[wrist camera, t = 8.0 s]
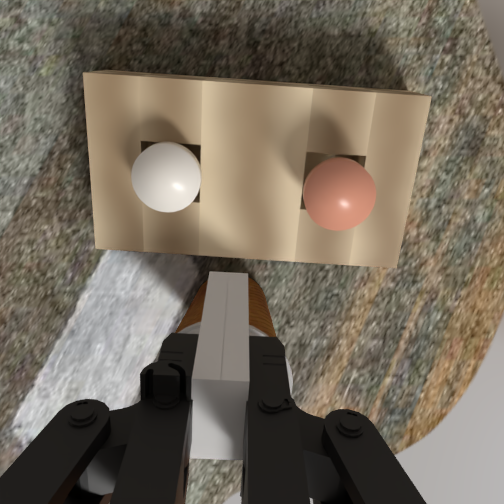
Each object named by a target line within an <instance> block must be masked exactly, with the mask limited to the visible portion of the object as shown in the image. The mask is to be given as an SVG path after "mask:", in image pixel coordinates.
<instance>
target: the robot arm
mask: <svg viewBox="0 0 504 504" xmlns="http://www.w3.org/2000/svg"><path fill="white" fill-rule="evenodd" d="M286 365H287V364H286V358H285V349H284V345H283V344H282V343H281V342H280V340H279V339H278V338H277V337H267V336H249V306H248V273H230V272H212V271H210V272H209V278H208V284H207V290H206V296H205V302H204V308H203V314H202V320H201V326H200V332H199V334H187V333H171V334H170V335H169V336H168V337H167V338H166V339H165V340H164V341H163V343H162V346H161V350H160V353H159V357H158V361H157V362H154V363H151V364H149V365H148V366H146V367H145V368H144V369H143V370H142V372H141V373H140V386H141V401H139V402H138V403H136V404H134V405H132V406H130V407H126V408H123V409H117V410H112V411H109V408H108V407H107V405H106V404H105V403H103V402H101V401H98V400H93V399H84V400H78V401H75V402H73V403H70V404H68V405H66V406H65V407H64V408H63V409H61V410H60V411H59V412H58V413H57V414H56V415H55V417H54V418H53V419H52V420H51V421H50V422H49V423H48V424H47V425H46V427H45V428H44V429H43V430H42V431H41V432H40V433H39V434H38V436H37V437H36V438H35V439H34V440H33V441H32V442H31V443H30V445H29V446H28V447H27V448H26V449H25V450H24V451H23V452H22V454H21V455H20V456H19V457H18V458H17V459H16V460H15V461H14V463H13V464H12V465H11V466H10V467H9V468H8V469H7V470H6V472H5V473H4V474H3V475H2V476H1V477H0V504H109V502H110V504H185V500H186V492H187V485H188V477H189V458H199V459H224V460H243V467H242V480H241V492H240V496H241V497H242V502H241V504H310V498H312V499H313V504H426V502H425V501H424V499H423V498H422V496H421V495H420V493H419V492H418V490H417V489H416V487H415V486H414V484H413V483H412V481H411V480H410V478H409V477H408V475H407V474H406V472H405V471H404V469H403V468H402V467H401V465H400V463H399V462H398V460H397V459H396V457H395V456H394V454H393V453H392V451H391V450H390V448H389V447H388V445H387V444H386V442H385V441H384V439H383V438H382V436H381V435H380V433H379V432H378V430H377V429H376V427H375V426H374V424H373V423H372V422H371V421H370V420H369V419H368V418H367V417H366V416H364V415H362V414H361V413H359V412H356V411H352V410H349V409H338V410H335V411H332V412H330V413H329V414H328V415H327V416H326V418H325V419H323V418H320V417H316V416H313V415H310V414H308V413H306V412H304V411H302V410H301V409H300V408H298V407H297V406H296V404H295V402H294V399H292V398H291V393H290V386H289V378H288V371H287V366H286ZM309 497H310V498H309Z"/></svg>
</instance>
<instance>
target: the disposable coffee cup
mask: <svg viewBox="0 0 504 504" xmlns="http://www.w3.org/2000/svg"><path fill="white" fill-rule="evenodd" d="M207 284H208V280H207V281H205V282H204V283H203V284H202V285H201V287H200V288H199V290H198V292H197V294H196V296H195V297H194V299H193V301H192V303H191V305H190V307H189V308H188V310H187V312H186V314H185V316H184V317H183V319H182V321H181V323H180V325H179V326H178V328H177V330H176V332H175V333H187V334H199V332H200V326H201V320H202V314H203V308H204V302H205V296H206V290H207ZM248 306H249V336H267V337H276V333H275V330H274V327H273V323H272V319H271V316H270V313H269V309H268V306H267V302H266V298H265V295H264V292H263V290H262V289H261V287H260V286H259V285H258V284H257V283H256V282H255V281H254V280H252V279H251V278H249V277H248ZM160 350H161V349H160ZM159 353H160V351H159ZM159 353H158V355H157V357H156V359H155V361H154V362H157V361H158V357H159ZM285 358H286V356H285ZM286 364H287V365H286V366H287V371H288V378H289V386H290V393H291V392H292V385H293V379H292V371H291V368H290V365H289V362H288V360H287V358H286Z"/></svg>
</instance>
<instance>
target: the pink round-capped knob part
mask: <svg viewBox="0 0 504 504" xmlns="http://www.w3.org/2000/svg"><path fill="white" fill-rule="evenodd" d="M303 200H304V204H305V207H306V210H307V212H308V214H309V216H310V217H311V219H312V220H313V221H314V222H315V223H317V224H318V225H319V226H321V227H323V228H326V229H329V230H334V231H341V230H347V229H350V228H353V227H355V226H357V225H359V224H360V223H362V222H363V221H364V220H365V219H366V218H367V217H368V216H369V214H370V213H371V211H372V209H373V207H374V205H375V201H376V187H375V183H374V181H373V179H372V177H371V175H370V174H369V173H368V172H367V171H366V170H365V168H364V167H363V166H362V165H360V164H359V163H358V162H356V161H354V160H351V159H348V158H342V157H337V158H331V159H328V160H325V161H323V162H321V163H319V164H318V165H317V166H315V167H314V168H313V169H312V170H311V172H310V173H309V174H308V176H307V178H306V180H305V183H304V186H303Z"/></svg>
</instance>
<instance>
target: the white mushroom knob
mask: <svg viewBox="0 0 504 504" xmlns="http://www.w3.org/2000/svg"><path fill="white" fill-rule="evenodd" d="M131 180H132V185H133V188H134V191H135V193H136V194H137V196H138V197H139V199H140V200H141V201H142V202H143V203H144V204H146V205H147V206H148V207H150V208H152V209H154V210H157V211H161V212H176V211H179V210H182V209H184V208H185V207H187V206H188V205H190V204H191V203H192V202H193V200H194V199H195V197H196V196H197V194H198V191H199V189H200V186H201V182H202V171H201V167H200V164H199V162H198V160H197V158H196V157H195V155H194V154H193V153H192V152H191V151H190V150H189V149H187V148H186V147H184V146H182V145H180V144H178V143H174V142H159V143H155V144H153V145H151V146H150V147H148V148H147V149H146V150H144V151H143V152H142V153H141V154H140V155H139V156H138V157H137V159H136V160H135V162H134V164H133V167H132V172H131Z"/></svg>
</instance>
